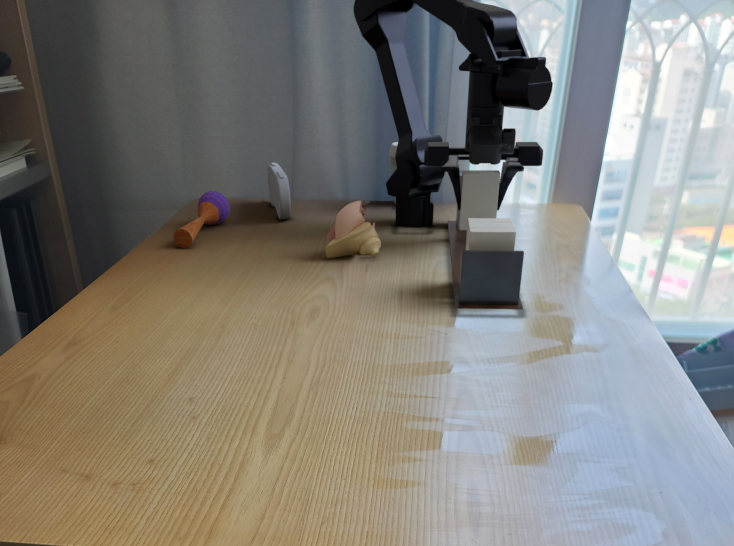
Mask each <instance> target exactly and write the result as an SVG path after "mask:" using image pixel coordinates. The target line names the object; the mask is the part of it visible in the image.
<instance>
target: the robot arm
mask: <svg viewBox="0 0 734 546" xmlns="http://www.w3.org/2000/svg"><path fill="white" fill-rule="evenodd" d="M416 6H418V7H420V8H421V9H422V10H424V11H426V12H427V13H429V14H430V15H432V16H434V17H435V18H436V19H438V20H439V21H441V22H443V23H444V24H445V25H447V26H448V27H450V29H451V30H453V31H454V33H455V35H456V39H457V41H458V42H459V43H460V44H461V45H462V47H464V48H465V49H466V51H468V52H469V54H468V55H467V57H466V59H464V60H463V62H461V64H459V66H458V71H460V72H469V75H468V88H467V89H468V91H467V105H466V122H465V124H466V125H465V138H464V139H465V141H464V147H450V143H449V141H443V138H442V136H441V135H440V134H436V135H432V134H431V132H430V131H429V130H428V129H427V127H426V122H425V118H424V114H423V111H422V107H421V103H420V99H419V96H418V92H417V88H416V84H415V80H414V77H413V73H412V70H411V69H412V68H411V65H410V61H409V58H408V53H407V50H406V45H405V41H404V40H405V34H406V30H407V26H408V16H407V14H408V13H409V12H411V11H412V10H413V9H414V8H415V7H416ZM352 7H353V17H354V19H355V22H356V24H357V27H358V29H359V32H360V33H361V34H360V35H361V36H362V38H363V39H364V40H365V42H366V43H367V44H368V45H369V46H370V47H371V48H372V49H373V50H374V52H375V55H376V58H377V59H376V60H377V62H378V65H379V66H378V67H379V70H380V73H381V77H382V81H383V85H384V88H385V92H386V96H387V98H388V104H389V107H390V111H391V115H392V118H393V122H394V125H395V130H396V133H397V135H398V141H397V142H398V145H397V150H396V154H395V160H396V166H397V169H396V170H395V171H394V173H393V174H392V173H391V175H390V176H389V178H388V179H387V180H386V182H385V187H386V192H387V196H389V197H393V198H394V197H396V204H395V227H402V228H410V229H413V228H414V229H416V228H417V229H419V228H423V227H433V226H434V212H435V211H434V208H435V207H434V206H435V204H434V203H435V202H434V200H431V199H432V194H433V193H439V192H440V188H441V185H442V182H443V180H444V177H445V175H446V174H445V173H447V175H448V177H449V179H450V182H451V184H452V188H453V189H452V190H453V193H454V196H455V201H456V202H455V203H456V207H457V206H458V210H461V188H460V171H459V170H460V163H459V161H468V162H469V163H470V164H471V165H477V166H478V165H480V164H490V165H491V166H492V165H493V166H494V165H495V166H496V165H499V164H500V163H501V161H502V166H501V172H500V182H499V194H498V205H497V211H499V210H500V208H501V206H502V204H503V201H504V198H505V195H506V193H507V191H508V188H509V186H510V185H511V183H512V181H513V179H514V178H515V176H516V175H517V173H519V172H524V171H525V167H541V166H543V159H544V149H543V147H542V146H541V145H540V144H539V142H538V141H516V135H517V132H516V131H517V130H516V128H512V127H511V128H505V127H504V126H503V125H504V115H505V114H504V113H505V108H509V109H518V110H519V109H521V110H529V111H540V110H542V109H544V108H545V107H546V105H548V102H549V101H550V98H551V95H552V92H553V84H554V83H553V82H552V81H553V80H552V75H551V72H550V70H549V68H548V67H546V65H547V58H546V57H545V56H535V57H534V56H533V57H530V56H529V53H528V50H527V49H526V46H525V44H524V41H523V38H522V36H521V34H520V31H519V28H518V23H517V21H518V18H517V16H516V14H515V13H514V12H513V11H512V10H510V9H508V8H503V7H501V6H498V5H493V4H490V3H489V4H488V3H483V2H478V1H475V0H354V3H353V6H352ZM503 127H504V128H503Z"/></svg>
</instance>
